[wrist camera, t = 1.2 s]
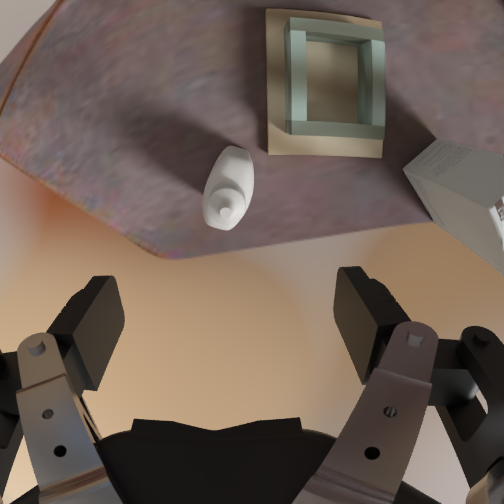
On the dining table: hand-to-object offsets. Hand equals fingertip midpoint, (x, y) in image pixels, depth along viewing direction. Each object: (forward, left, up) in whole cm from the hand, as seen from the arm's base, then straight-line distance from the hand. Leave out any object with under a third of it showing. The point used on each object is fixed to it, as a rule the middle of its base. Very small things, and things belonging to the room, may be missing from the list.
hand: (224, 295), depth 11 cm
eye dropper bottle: (0, 0, -21) cm, 21 cm away
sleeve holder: (-9, +9, -20) cm, 24 cm away
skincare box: (0, +22, -21) cm, 30 cm away
